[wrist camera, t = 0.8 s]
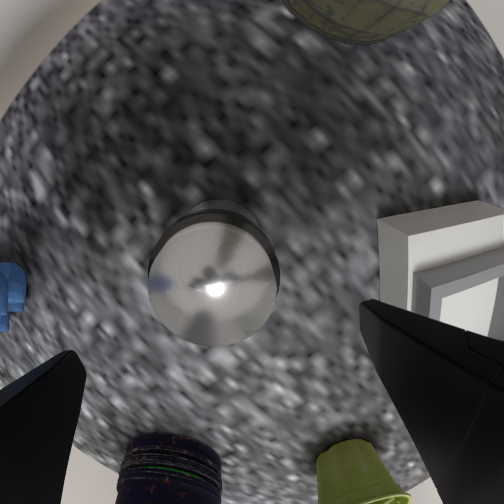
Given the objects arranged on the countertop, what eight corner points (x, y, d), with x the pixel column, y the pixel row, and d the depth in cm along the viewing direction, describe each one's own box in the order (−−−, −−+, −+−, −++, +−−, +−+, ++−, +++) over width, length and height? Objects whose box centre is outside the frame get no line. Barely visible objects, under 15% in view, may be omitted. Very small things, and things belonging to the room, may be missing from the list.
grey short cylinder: (256, 185, 18) (271, 206, 11) (273, 274, 19) (293, 338, 13) (162, 205, 18) (122, 239, 11) (185, 291, 19) (165, 359, 13)
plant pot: (301, 482, 28) (313, 542, 20) (297, 440, 25) (313, 517, 17) (378, 462, 28) (400, 518, 20) (390, 416, 25) (423, 482, 17)
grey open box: (477, 200, 18) (533, 219, 13) (463, 341, 23) (499, 379, 17) (376, 218, 19) (428, 247, 13) (377, 373, 23) (406, 424, 17)
